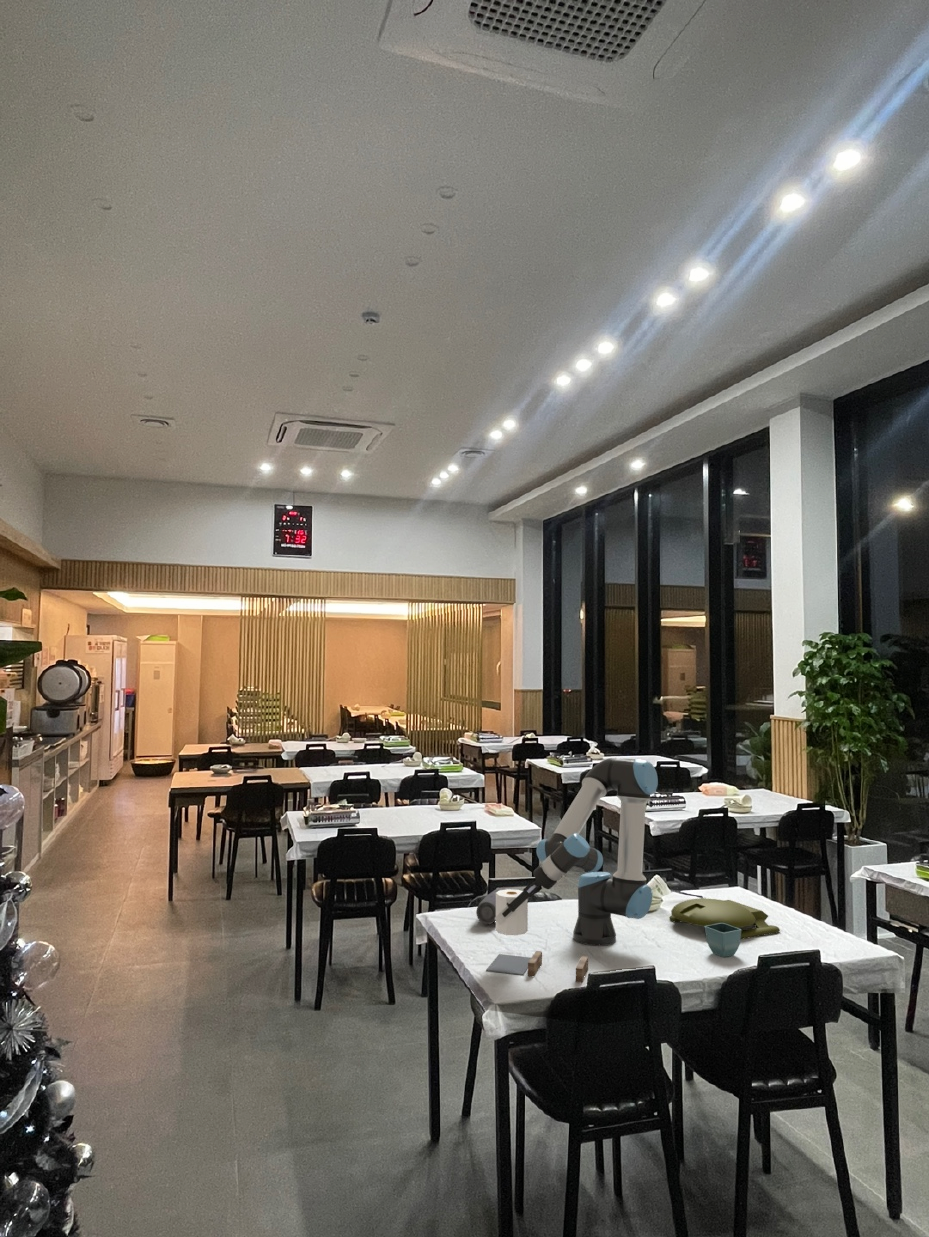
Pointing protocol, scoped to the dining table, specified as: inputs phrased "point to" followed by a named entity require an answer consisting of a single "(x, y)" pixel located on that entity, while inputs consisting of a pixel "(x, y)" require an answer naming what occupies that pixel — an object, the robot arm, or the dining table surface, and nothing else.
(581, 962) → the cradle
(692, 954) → the dining table surface
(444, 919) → the dining table surface
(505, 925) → the toilet paper
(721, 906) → the spaceship
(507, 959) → the mat
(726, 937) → the flower pot
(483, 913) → the bluetooth speaker
